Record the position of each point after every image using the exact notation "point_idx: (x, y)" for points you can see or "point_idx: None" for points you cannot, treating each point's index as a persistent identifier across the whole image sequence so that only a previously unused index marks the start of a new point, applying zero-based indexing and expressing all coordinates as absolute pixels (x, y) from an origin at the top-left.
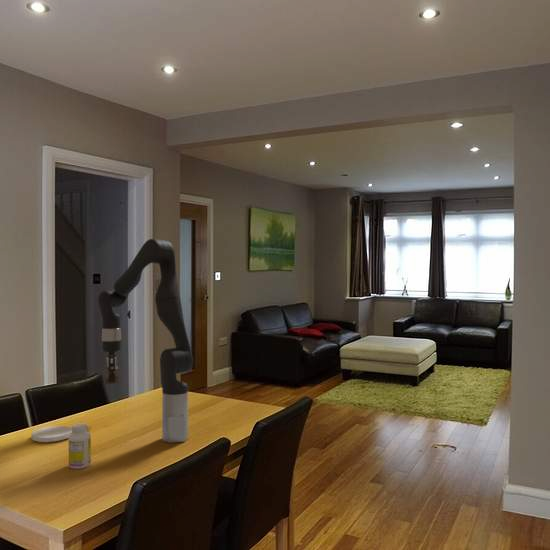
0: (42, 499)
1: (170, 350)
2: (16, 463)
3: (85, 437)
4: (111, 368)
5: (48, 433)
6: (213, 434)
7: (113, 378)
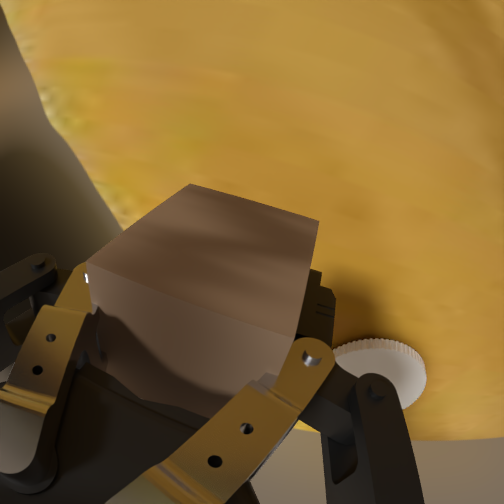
0: None
1: None
2: (469, 430)
3: None
4: (229, 392)
5: None
6: None
7: (334, 311)
